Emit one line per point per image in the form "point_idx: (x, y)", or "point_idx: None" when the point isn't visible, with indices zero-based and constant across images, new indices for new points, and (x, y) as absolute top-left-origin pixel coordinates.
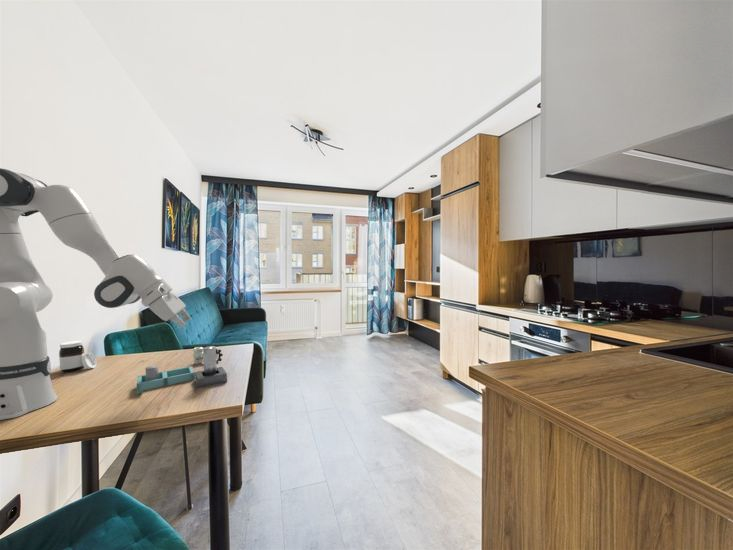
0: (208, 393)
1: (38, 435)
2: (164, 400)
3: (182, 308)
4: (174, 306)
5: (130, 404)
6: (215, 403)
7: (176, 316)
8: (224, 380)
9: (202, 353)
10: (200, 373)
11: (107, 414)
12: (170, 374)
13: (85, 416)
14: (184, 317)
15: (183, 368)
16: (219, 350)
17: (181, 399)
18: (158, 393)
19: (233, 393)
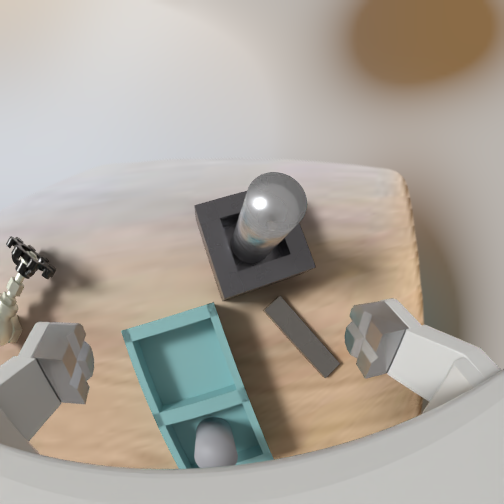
0: (328, 240)
1: None
2: (341, 351)
3: (67, 465)
4: (500, 491)
5: (336, 428)
6: (388, 214)
7: (488, 362)
8: None
9: (3, 310)
10: (252, 272)
11: None
12: (157, 398)
13: None
14: (55, 395)
15: (139, 359)
16: (14, 240)
17: (348, 305)
18: (281, 391)
19: (343, 178)
